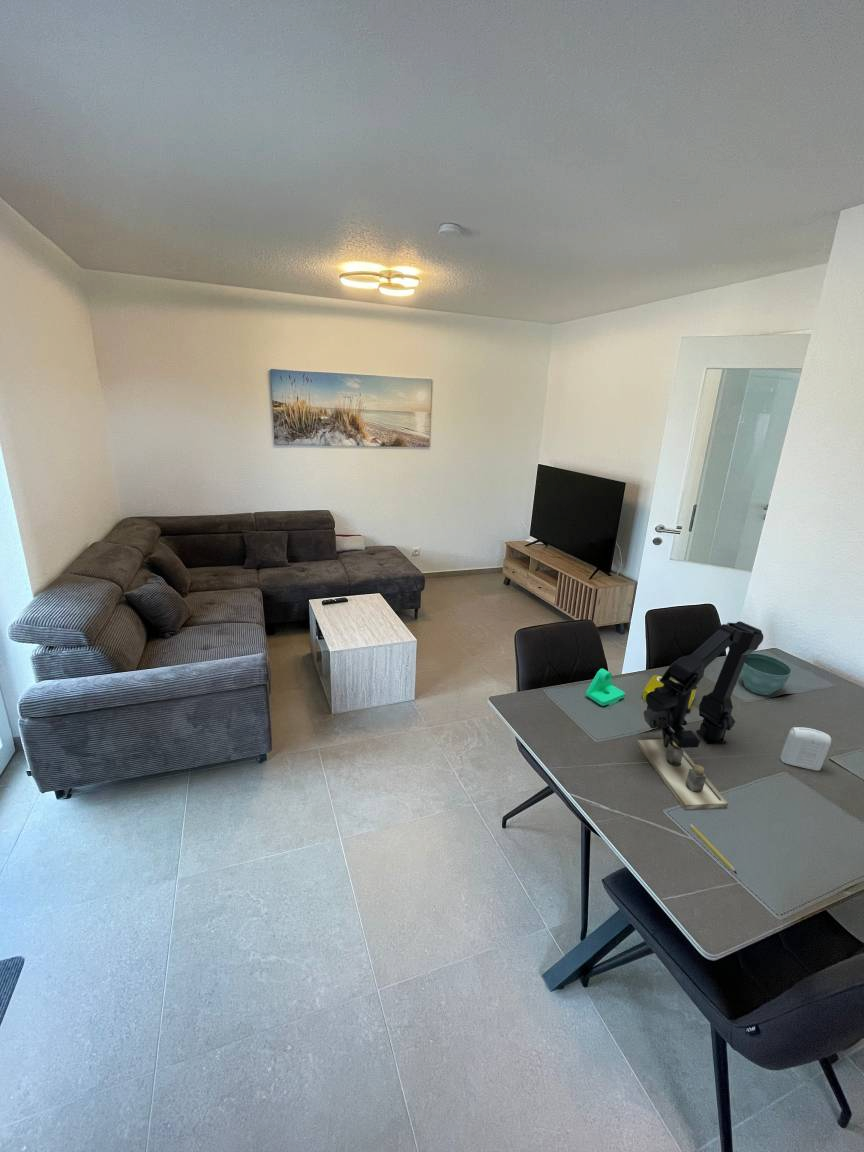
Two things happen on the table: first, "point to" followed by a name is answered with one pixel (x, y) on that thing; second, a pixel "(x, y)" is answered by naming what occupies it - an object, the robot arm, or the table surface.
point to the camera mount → (604, 689)
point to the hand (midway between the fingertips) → (666, 746)
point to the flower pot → (764, 673)
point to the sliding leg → (674, 753)
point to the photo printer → (806, 748)
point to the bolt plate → (683, 778)
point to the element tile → (656, 683)
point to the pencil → (712, 848)
